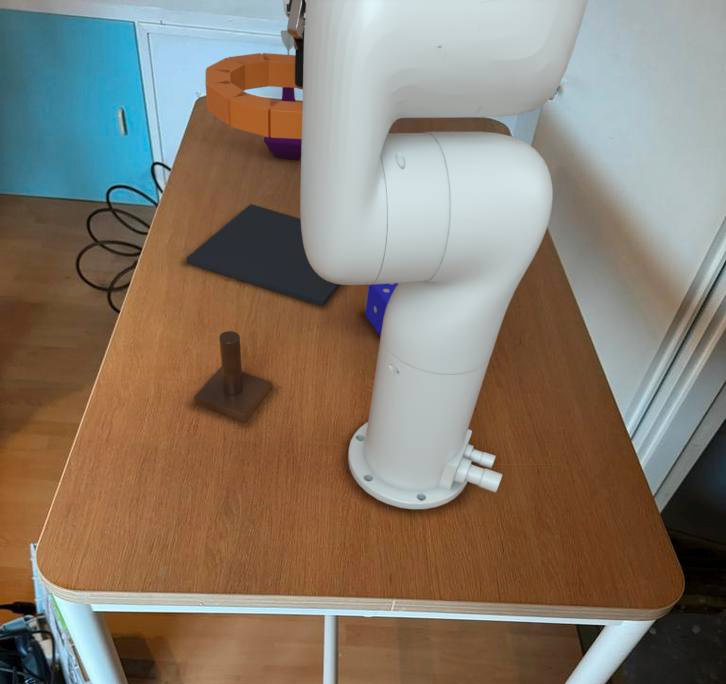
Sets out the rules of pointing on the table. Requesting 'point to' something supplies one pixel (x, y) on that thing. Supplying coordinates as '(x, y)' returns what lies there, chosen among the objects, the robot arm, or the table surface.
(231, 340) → the stand
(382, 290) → the die
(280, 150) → the perfume bottle
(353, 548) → the table surface
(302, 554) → the table surface
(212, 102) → the ring
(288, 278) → the mat
